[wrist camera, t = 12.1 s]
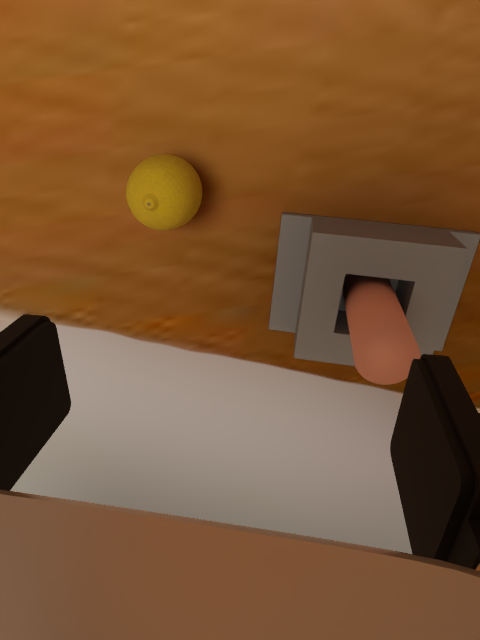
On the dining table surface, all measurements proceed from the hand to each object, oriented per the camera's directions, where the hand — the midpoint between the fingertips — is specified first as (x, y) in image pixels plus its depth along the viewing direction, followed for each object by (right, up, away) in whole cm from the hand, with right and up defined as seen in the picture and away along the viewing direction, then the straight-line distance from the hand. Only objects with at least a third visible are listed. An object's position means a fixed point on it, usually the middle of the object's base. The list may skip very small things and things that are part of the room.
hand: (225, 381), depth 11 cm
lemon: (-5, +13, +25) cm, 29 cm away
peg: (+11, +5, +26) cm, 29 cm away
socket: (+12, +5, +27) cm, 30 cm away
